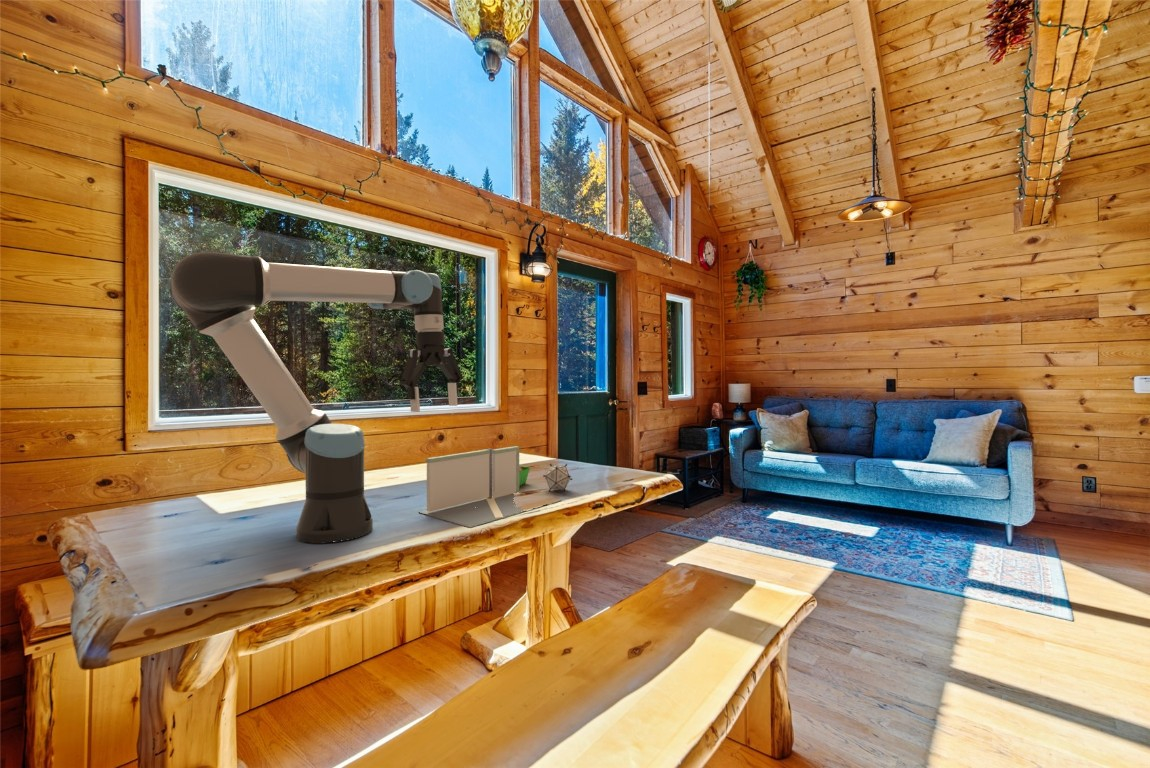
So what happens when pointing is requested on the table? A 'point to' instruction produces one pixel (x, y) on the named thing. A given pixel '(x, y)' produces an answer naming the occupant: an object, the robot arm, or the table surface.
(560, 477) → the game die
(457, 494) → the beige flat upright board
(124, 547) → the table surface
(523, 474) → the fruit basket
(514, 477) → the fixed fence panel
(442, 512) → the board
